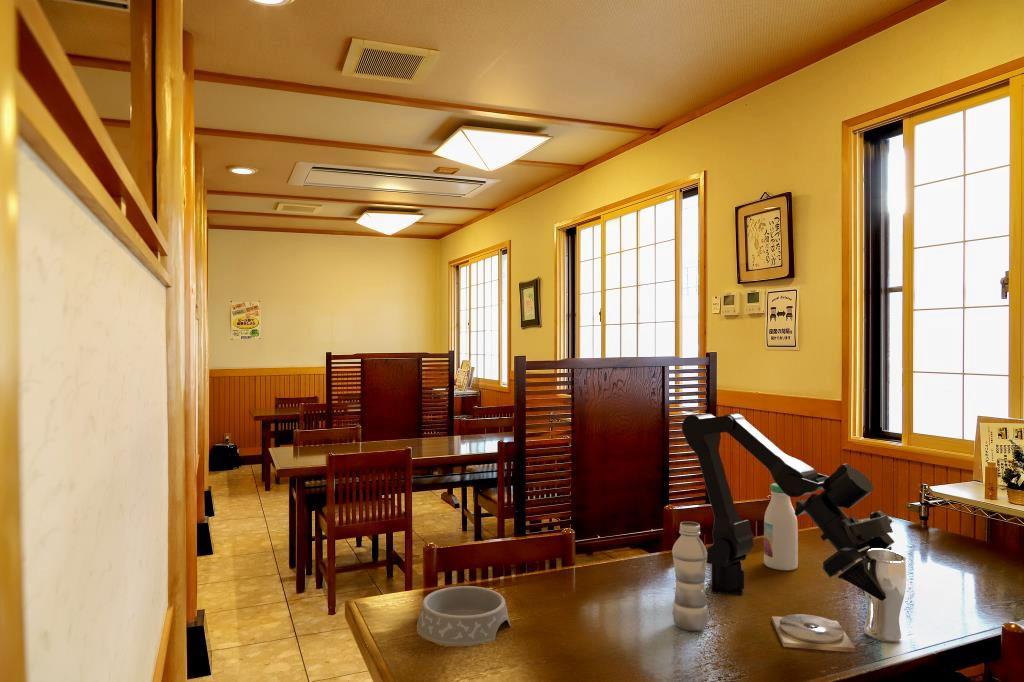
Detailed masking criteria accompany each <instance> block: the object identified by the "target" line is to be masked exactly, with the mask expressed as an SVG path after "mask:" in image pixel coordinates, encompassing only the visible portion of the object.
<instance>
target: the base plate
mask: <svg viewBox="0 0 1024 682" xmlns="http://www.w3.org/2000/svg"><path fill="white" fill-rule="evenodd" d="M782 617H783V616H777V615H776V616H773V615H772V616H771V621H772V622H771V623H773V626H774V629H775V630H776V633H777V636H778V637H779V640H780V642H781V644H782V646H783V647H784V648H795V649H808V650H820V651H833V652H847V653H856V647H855V645H854V644H853V642H852V641H851V639H850V638H849V636H848V635H847V633H846V631H844V638H843V640H842V641H840V642H837V643H833V644H815V643H809V642H804V641H800V640H797V639H794V638H792V637H790V636H788V635H786V634H785V633H783V632H782V631H781V629H780V619H781V618H782ZM833 621H834V622H836V623H837V624H839V625H840V622H839V621H838V620H833Z"/></svg>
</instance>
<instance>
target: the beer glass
mask: <svg viewBox="0 0 1024 682" xmlns="http://www.w3.org/2000/svg"><path fill="white" fill-rule="evenodd" d="M865 553H866V554H865V558H868V570H869V571H870V573H871V574H872V576H873V577H874V579H875V580H876V582H877V583H878V585H879V586H880V588H881V589H882V591H883V592H884V594H885V596H886V599H884V600H883V601H881V600H879V599H877V598H876V597H874V596H872V595H871V594H869V593H867V592H865V591H864V595H865V596H864V597H865V601H866V602H865V604H866V618H865V620H864V621H865V622H864V626H863V631H864V633H865V634H866V635H867V636H869V637H871V638H873V639H875V640H877V641H878V640H879V641H882V642H897V641H900V640H901V639H902V631H901V625H900V616H901V615H900V614H901V610H902V606H903V603H904V598H905V594H906V588H907V565H906V564H907V561H906V560H907V558H906V557H905V555H903V554H902V553H899V552H897V551H895V550H886V549H869V550H867V551H866V552H865Z"/></svg>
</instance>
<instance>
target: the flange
mask: <svg viewBox="0 0 1024 682" xmlns="http://www.w3.org/2000/svg"><path fill="white" fill-rule="evenodd" d="M781 617H782V618H781V619H780V629H781V631H782V632H783V633H785V634H786V635H788V636H790V637H792V638H794V639H797V640H800V641H804V642H809V643H815V644H833V643H837V642H840V641H842V640H843V638H844V632H845V630H844V628H843V626H841V625H840V623H839V624H837V623H836V622H834V621H835V620H831V619H829V618H826V617H823V616H818V615H812V614H804V613H801V614H800V613H797V614H796V613H795V614H794V613H793V614H788V615H784V616H781Z"/></svg>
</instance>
